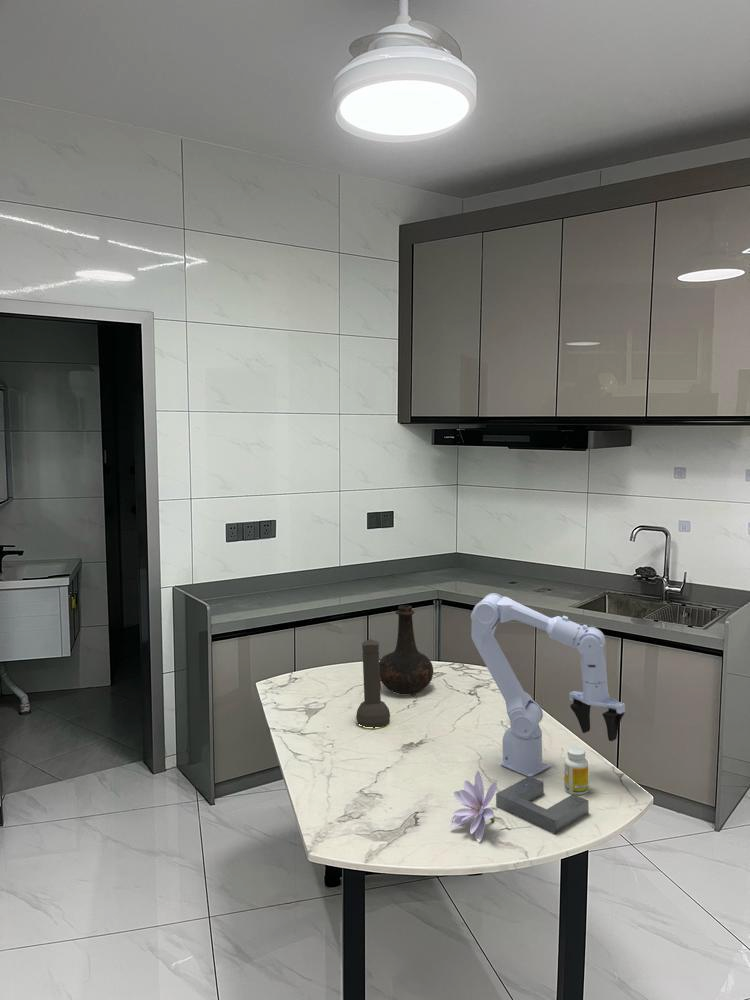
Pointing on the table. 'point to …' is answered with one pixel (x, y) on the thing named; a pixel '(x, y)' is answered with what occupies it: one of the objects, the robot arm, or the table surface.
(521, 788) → the grey u-shaped block
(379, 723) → the flashlight
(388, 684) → the glass bottle
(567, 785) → the supplement bottle
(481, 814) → the water lily
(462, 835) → the table surface
